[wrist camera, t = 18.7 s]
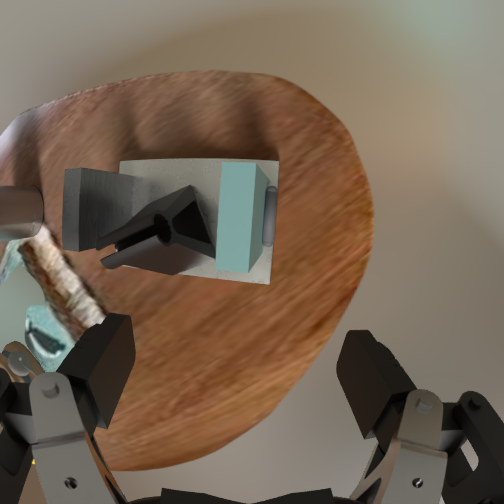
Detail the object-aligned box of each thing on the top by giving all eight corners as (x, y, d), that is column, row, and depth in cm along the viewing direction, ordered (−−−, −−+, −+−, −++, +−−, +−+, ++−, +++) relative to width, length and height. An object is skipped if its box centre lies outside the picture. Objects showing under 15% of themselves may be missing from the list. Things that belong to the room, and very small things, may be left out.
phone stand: (148, 204, 32) (83, 204, 20) (192, 184, 30) (136, 172, 19) (173, 274, 32) (116, 306, 21) (218, 259, 31) (175, 288, 20)
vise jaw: (273, 253, 30) (264, 274, 20) (239, 250, 31) (215, 269, 21) (279, 179, 29) (272, 164, 19) (245, 177, 29) (222, 161, 20)
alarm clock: (-21, 352, 37) (13, 357, 33) (3, 340, 46) (43, 340, 42) (9, 412, 39) (54, 431, 35) (29, 397, 48) (77, 409, 44)
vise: (270, 279, 33) (258, 317, 21) (124, 262, 35) (64, 282, 24) (280, 164, 31) (272, 137, 19) (128, 163, 33) (67, 149, 22)
